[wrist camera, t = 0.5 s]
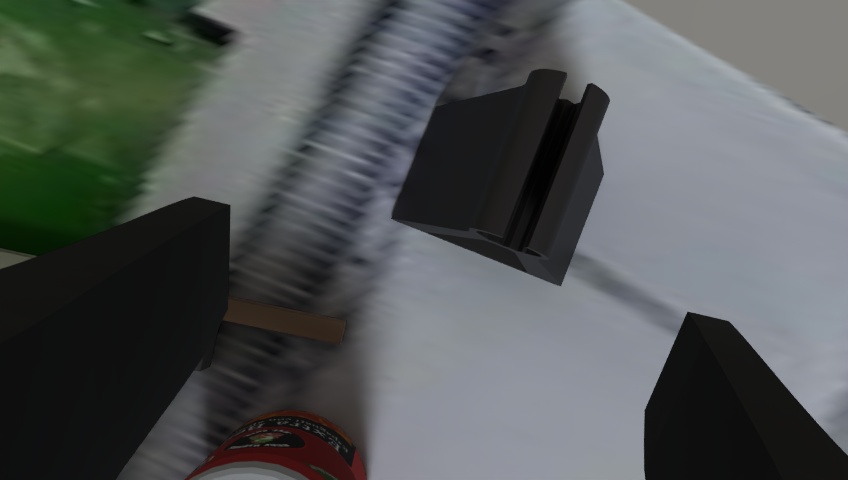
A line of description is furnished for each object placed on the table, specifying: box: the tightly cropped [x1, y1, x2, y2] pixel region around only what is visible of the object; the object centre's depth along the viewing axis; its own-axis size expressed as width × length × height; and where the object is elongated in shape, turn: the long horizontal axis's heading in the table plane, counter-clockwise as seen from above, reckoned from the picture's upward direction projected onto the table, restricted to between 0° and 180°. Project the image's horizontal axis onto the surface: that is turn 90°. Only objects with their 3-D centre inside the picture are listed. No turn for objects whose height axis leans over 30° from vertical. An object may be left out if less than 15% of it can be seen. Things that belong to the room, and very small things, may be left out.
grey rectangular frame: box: [0, 248, 347, 344], centre depth 34 cm, size 17×22×2 cm
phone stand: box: [391, 69, 610, 286], centre depth 30 cm, size 9×6×12 cm, turn 68°
